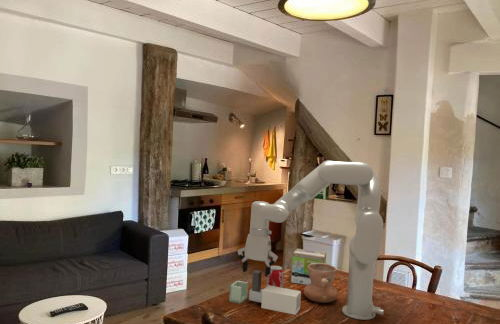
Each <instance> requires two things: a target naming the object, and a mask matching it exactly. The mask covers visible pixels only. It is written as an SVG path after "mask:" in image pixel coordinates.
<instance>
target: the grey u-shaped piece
mask: <svg viewBox="0 0 500 324" xmlns="http://www.w3.org/2000/svg"><path fill="white" fill-rule="evenodd" d="M262 272H263V271H262V270H259V269H258V270H257V269H256V270H254V271H253V272H252V284H251V285H252V286H251V289H249V290H248V301H253V302H257V303H261V304H262V290H263V289H264V288H262V275H263V274H262Z"/></svg>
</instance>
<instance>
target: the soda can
mask: <svg viewBox="0 0 500 324" xmlns="http://www.w3.org/2000/svg"><path fill="white" fill-rule="evenodd" d="M284 272H285V271H284V270H283V266H280V265H271V271H270V274H269V275H268V276H267V277H266V287H267V286H268V285H270V286H275V287H280V288H284V276H285V273H284Z"/></svg>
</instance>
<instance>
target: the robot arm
mask: <svg viewBox="0 0 500 324" xmlns="http://www.w3.org/2000/svg"><path fill="white" fill-rule="evenodd" d="M332 184H335V185H349V186H350V185H351V186H352V185H354V186H357V189H358V193H357V204H356V211H355V214H354V223H355V227H356V228H355V235H353V236H352V237H351V239H350V241H349V243H348V273H347V274H348V278H347V293H346V305H344V306H343V307H342V313H343V314H344V315H345V316H347V317H349V318H351V319H354V320H364V321H365V320H367V321H368V320H372V319H374V318H375V317H376V314H378V315H382V316H383V315H384V309H382V308H381V307H380V306H375V305H374V302H373V288H374V273H375V262H376V261H377V260H378V258H379V255H380V251H381V248H382V238H383V234H384V233H383V232H384V220H383V217H382V216H381V214H380V208H381V199H382V198H381V197H382V188H381V182H380V180H379V177H378V175H377V174H376V172H375V171H374V169H373V168H372V167H371V165H370V164H368V163H366V162H362V161H337V160H335V161H334V160H332V159H331V160H329V159H327V160H324V161H322V163H321V164H319V165H318V166H317V167H316V168H314V169H313V170H312V171H311V172H309V174H307V175H306V176H304V177H303V178H301V180H300V181H298V182H297V183H296V184H295V185H294V186H293V187H292V188H291V189H290V190H288V191H287V192H285V194H284V195H282V196H281V197H279V199H277V200H276V201H275V202H274V203H269V202H266V201H261V200H258V201H257V200H256V201H253V202H252V203H251V207H250V211H251V212H250V226H249V233H248V234H247V238H246V240H245V241H246V242H245V246H244V247H242V248H239V249H237V250H236V251H237V254H238V257H239V259H240V260H241V262H242V267H241V269H242V272H243V273H246V272H247V271H248V266H249V261H248V260H254V261H257V262H258V261H259V262H263V263H265V265H266V266H265V272H264V277H266V278H267V276H268V275H269V274H270V271H271V266H273V265H274V264H275V263H276V262H277V260H278V258H279V257H278V255H277V254H275V253H274V252H273V251H272V245H271V244H272V243H271V241H272V240H271V236H270V235H272V232H273V231H272V230H270V229H269V227H270V222H273V223H278V224H279V223H283V222H285V221H286V220H287V219H288V217H289V215H290V214H291V213H292V212H293V211H295V210H296V209H298V207H300V206H302V204H304V203H306V202H309V201H311V200H312V199H314V198H316V197H317V196H318V195H319V194H320V193H321V192H322V191H324V190H325V189H327V188H328V187H329V186H330V185H332ZM243 252H244V254H243ZM271 258H272V260H271Z"/></svg>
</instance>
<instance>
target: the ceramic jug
mask: <svg viewBox="0 0 500 324" xmlns="http://www.w3.org/2000/svg"><path fill="white" fill-rule="evenodd" d="M308 272H309V277H310V280H311V283H310V284H308V285H305V287H304V288H303V294H304V296H305V297H306V298H307V299H308V300H310V301H312V302H315V303H319V304H328V303H331V302H334V301H336V299H337V298H338V297H339V292H338V290H337V288H336V287H334V286H333V285H332V284H333V281H334V279H335V277H336V274H337V267H336V266H334V265H332V264H328V263H326V264H325V263H312V264H309V265H308Z"/></svg>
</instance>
